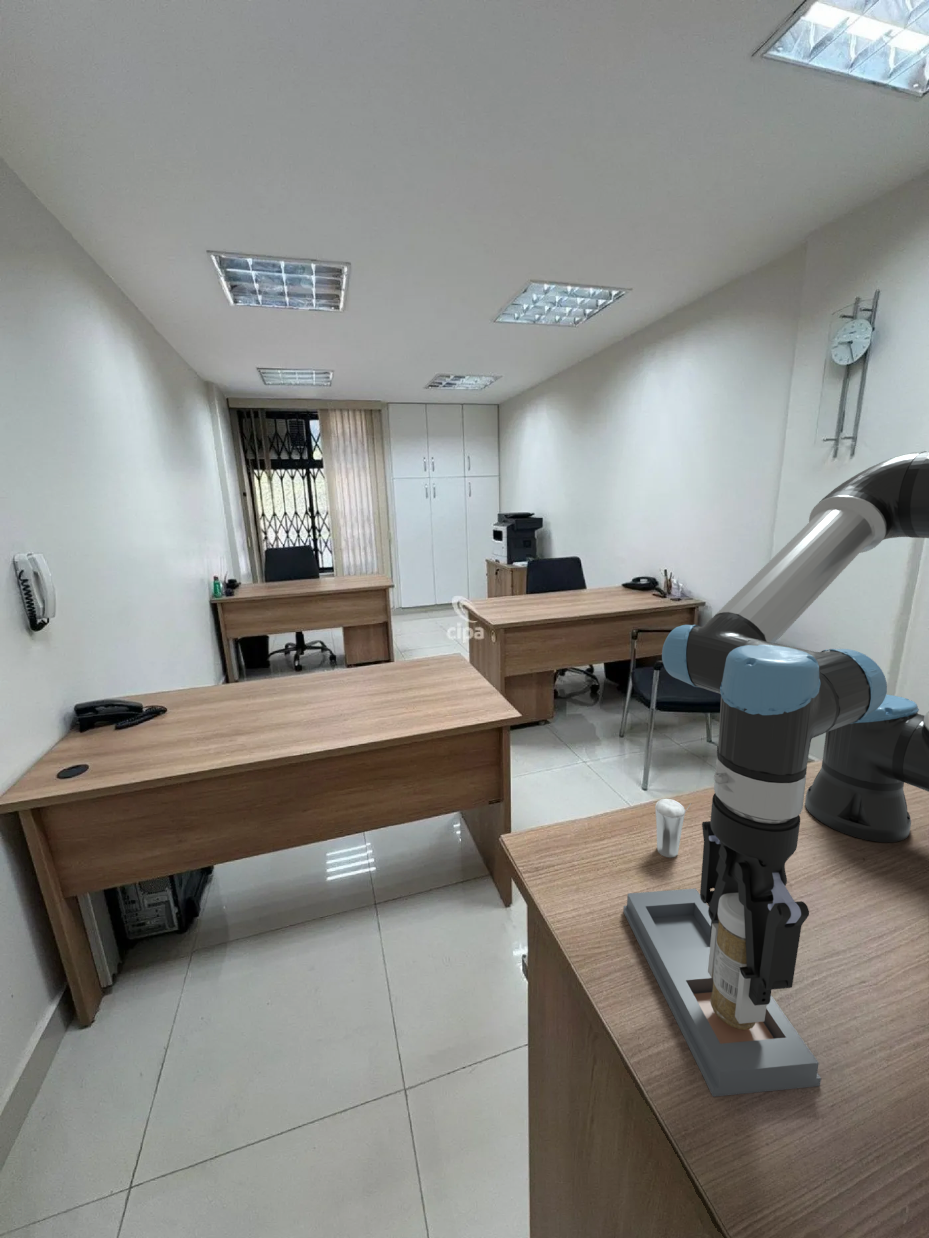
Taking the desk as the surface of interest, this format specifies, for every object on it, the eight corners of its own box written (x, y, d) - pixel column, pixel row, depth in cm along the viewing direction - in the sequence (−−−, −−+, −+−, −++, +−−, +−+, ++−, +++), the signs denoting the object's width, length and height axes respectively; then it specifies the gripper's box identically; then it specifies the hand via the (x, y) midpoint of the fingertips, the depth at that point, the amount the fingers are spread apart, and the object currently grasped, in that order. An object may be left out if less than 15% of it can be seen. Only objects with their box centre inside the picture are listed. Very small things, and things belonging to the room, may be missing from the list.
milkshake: (684, 866, 79) (689, 810, 77) (650, 854, 82) (653, 800, 80) (689, 849, 83) (693, 796, 81) (655, 839, 86) (659, 787, 84)
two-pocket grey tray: (697, 906, 71) (698, 888, 71) (819, 1085, 49) (823, 1062, 48) (623, 911, 71) (624, 893, 70) (712, 1096, 48) (715, 1072, 48)
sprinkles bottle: (764, 1016, 53) (778, 910, 50) (742, 1041, 51) (754, 931, 48) (723, 983, 57) (733, 883, 54) (700, 1005, 55) (709, 902, 52)
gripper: (675, 761, 57) (663, 931, 62) (780, 867, 40) (752, 1090, 45) (737, 757, 57) (721, 926, 62) (868, 860, 40) (831, 1082, 45)
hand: (734, 994), depth 53 cm, fingers closed on sprinkles bottle, 4 cm apart
